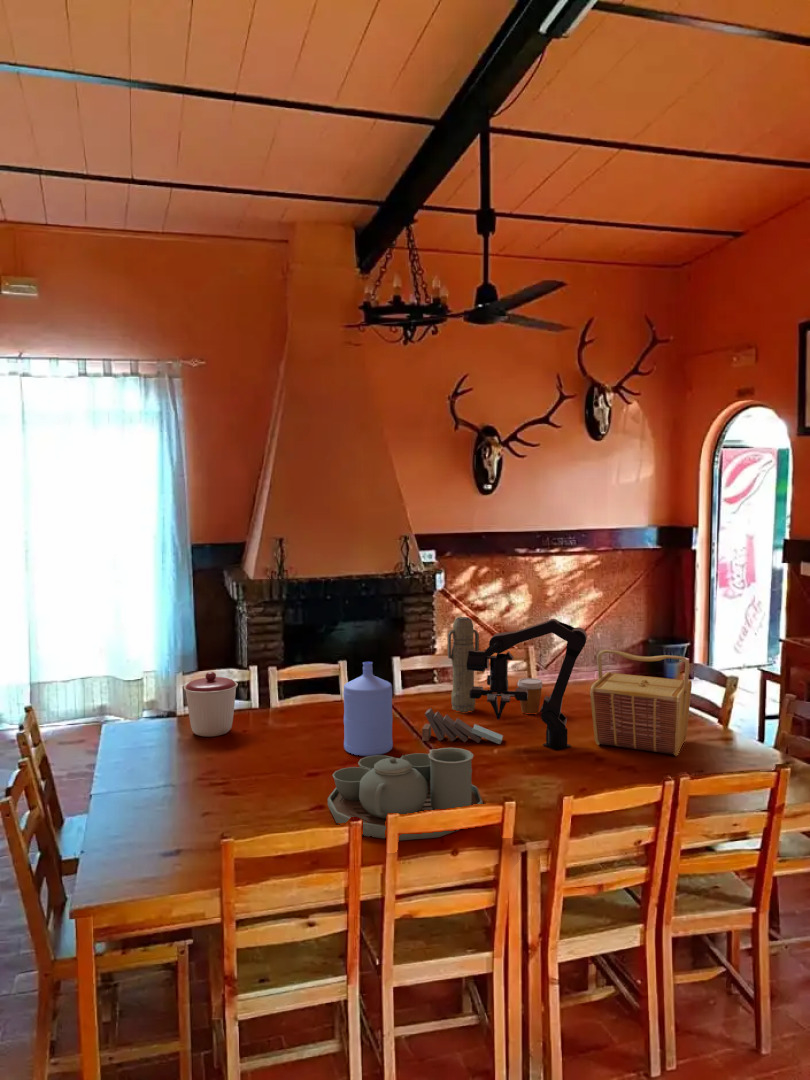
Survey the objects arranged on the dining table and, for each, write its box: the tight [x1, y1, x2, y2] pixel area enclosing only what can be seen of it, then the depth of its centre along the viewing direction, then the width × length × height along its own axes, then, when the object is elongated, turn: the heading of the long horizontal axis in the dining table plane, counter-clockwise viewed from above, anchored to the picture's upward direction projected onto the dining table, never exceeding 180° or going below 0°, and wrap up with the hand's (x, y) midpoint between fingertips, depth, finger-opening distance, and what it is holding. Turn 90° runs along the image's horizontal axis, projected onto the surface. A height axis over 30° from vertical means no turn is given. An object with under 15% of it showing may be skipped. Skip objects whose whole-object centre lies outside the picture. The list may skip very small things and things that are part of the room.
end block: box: [421, 723, 432, 742], centre depth 264 cm, size 2×6×4 cm, turn 169°
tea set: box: [327, 747, 484, 841], centre depth 205 cm, size 40×40×16 cm
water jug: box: [342, 661, 394, 757], centre depth 253 cm, size 16×16×28 cm
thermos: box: [447, 616, 480, 712], centre depth 297 cm, size 9×12×35 cm
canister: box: [183, 671, 239, 738], centre depth 271 cm, size 18×18×21 cm
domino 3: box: [442, 714, 469, 743], centre depth 262 cm, size 2×5×10 cm
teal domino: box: [472, 723, 504, 745], centre depth 260 cm, size 2×5×10 cm
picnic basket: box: [589, 649, 693, 757], centre depth 256 cm, size 29×26×30 cm
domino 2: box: [433, 710, 458, 742], centre depth 263 cm, size 2×5×10 cm
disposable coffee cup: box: [516, 677, 544, 714], centre depth 294 cm, size 10×10×12 cm
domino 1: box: [424, 708, 446, 742], centre depth 263 cm, size 2×5×10 cm, turn 169°
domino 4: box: [453, 717, 483, 744], centre depth 261 cm, size 2×5×10 cm
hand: (498, 719), depth 259 cm, fingers closed
